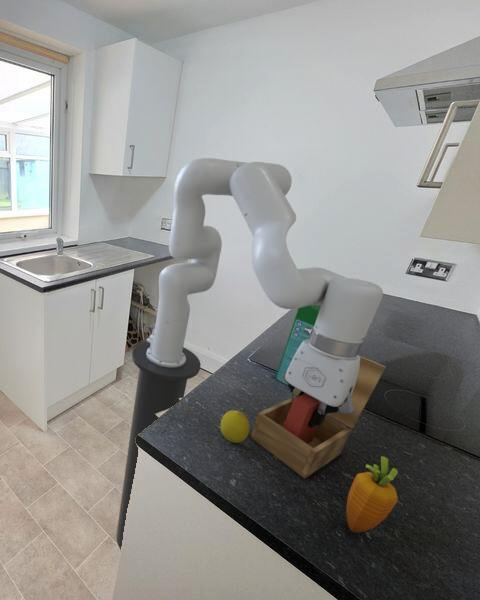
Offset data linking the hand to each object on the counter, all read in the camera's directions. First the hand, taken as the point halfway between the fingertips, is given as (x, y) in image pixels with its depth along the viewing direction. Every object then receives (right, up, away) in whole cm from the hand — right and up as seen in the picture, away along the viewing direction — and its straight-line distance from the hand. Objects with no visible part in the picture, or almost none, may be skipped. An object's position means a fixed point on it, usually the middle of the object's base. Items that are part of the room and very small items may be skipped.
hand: (304, 418), depth 66 cm
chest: (0, -7, +3) cm, 7 cm away
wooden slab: (+7, +7, +1) cm, 10 cm away
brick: (0, -6, +2) cm, 7 cm away
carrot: (-2, -13, -14) cm, 20 cm away
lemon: (-14, -6, +3) cm, 16 cm away
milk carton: (+17, +1, +25) cm, 30 cm away
